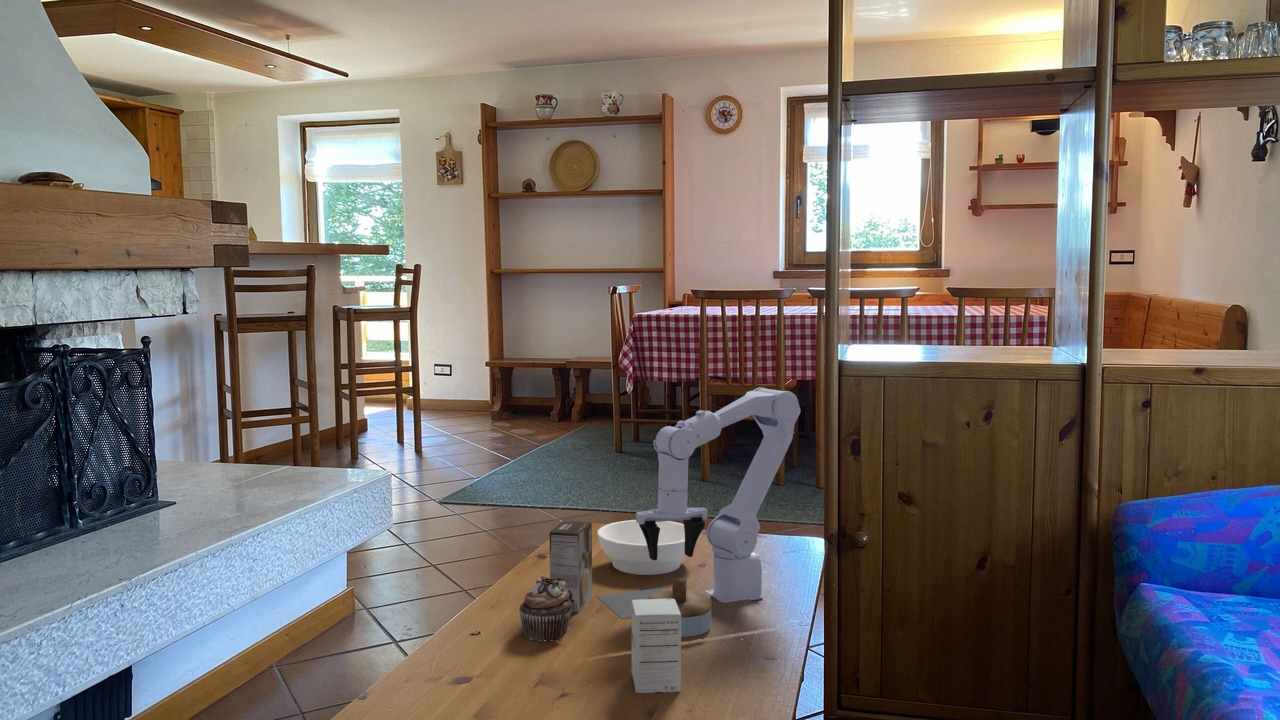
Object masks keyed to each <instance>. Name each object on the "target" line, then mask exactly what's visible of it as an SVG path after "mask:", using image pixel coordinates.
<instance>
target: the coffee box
mask: <svg viewBox="0 0 1280 720" xmlns="http://www.w3.org/2000/svg"><path fill="white" fill-rule="evenodd" d="M592 535H593V522H592V521H572V520H571V521H567V520H565V521H563V520H562V521H561V522H559V524H558V525H556V526H555V527H554V528H552V529H551V530H550V531H549V578H562V579H563V580H564V582H565V583H566V585H565V589H566V590H567V591H568V592H569V597H568V598H569V599H570V601H571V602H572V610H571V613H572V612H576V613H580V612H582V611H583V609H584V608H585V607H586V605H588V603H590V601H591V600H592V598H593V536H592Z"/></svg>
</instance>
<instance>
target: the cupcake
mask: <svg viewBox="0 0 1280 720" xmlns="http://www.w3.org/2000/svg"><path fill="white" fill-rule="evenodd" d="M565 585H566V583H565V582H564V580H563V579H562V578H550V577H548V578H547V577H546V576H540V577H538V578H537V579H536V580H535V585H534V586H533V587H531V588H530V589H528V592H527V593H525V595H524V601H523V602H522V603H521V604H519V607H518V613H519V617H520V622H521V626H522V632H523V633H522V634H523V636H525V637H524V638H526V639H527V638H528V639H527V640H529V639H532V640H531V641H533V640H536V641H535V642H537V641H539V640H540V641H544V640H546V641H548V642H552V641H551V640H555V641H558V640H559V637H561V636H563V635H565V634H566V633H567V632H568V627H569V621H570V618H571V614H572V611H571V610H572V602H571V601H570V599H569V598H568V597H569V592H568V591H567V590H566V589H565Z"/></svg>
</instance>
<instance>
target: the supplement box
mask: <svg viewBox="0 0 1280 720" xmlns="http://www.w3.org/2000/svg"><path fill="white" fill-rule="evenodd" d="M631 676H632V679H633V685H634V691H635V693H636V694H652V693H653V694H654V693H655V692H663V693H679V692H682V637H681V613H680V610H679V608H678V605H677V603H676V600H675V599H639V600H632V618H631ZM655 694H656V693H655Z"/></svg>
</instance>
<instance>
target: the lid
mask: <svg viewBox="0 0 1280 720" xmlns="http://www.w3.org/2000/svg"><path fill="white" fill-rule="evenodd" d="M671 585H672V586H671V587H672V588H671V590H663V591H662V592H658V593H655V594H652V595H651V596H649V597H648V599H675V600H676V603H677V605H678V608H679V610H680V613H681V617H694V616H699V615H702V614H705V613H707V612H709V611H710V610H711V611H712V599H711V598H710V597H709V596H708V595H706V594H704V593H701V592H699V591H692V590H687V578H685V577H673V578H672V584H671Z"/></svg>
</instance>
